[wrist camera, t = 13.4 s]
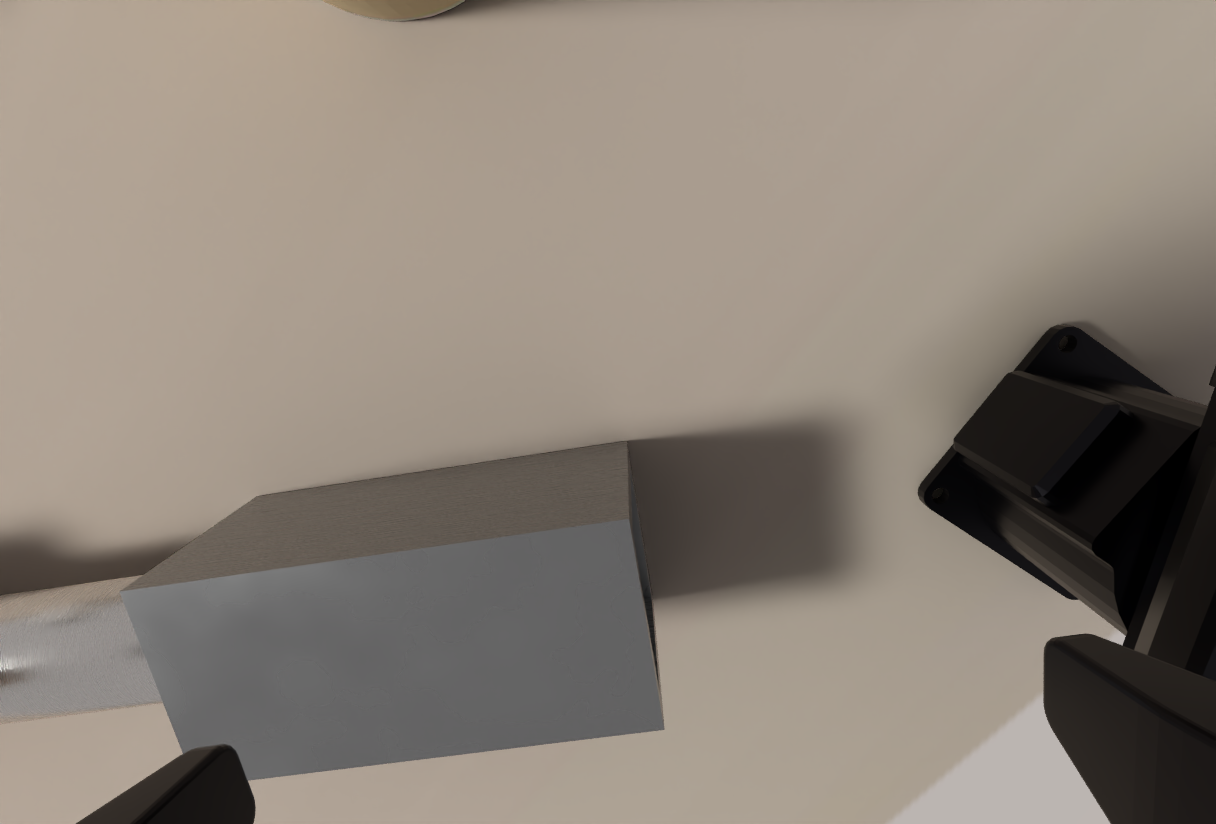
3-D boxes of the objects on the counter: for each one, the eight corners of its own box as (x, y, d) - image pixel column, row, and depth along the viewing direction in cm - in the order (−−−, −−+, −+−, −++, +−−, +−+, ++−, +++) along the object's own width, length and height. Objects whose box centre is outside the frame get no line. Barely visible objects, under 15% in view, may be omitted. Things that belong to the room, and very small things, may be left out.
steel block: (627, 440, 20) (629, 518, 14) (653, 600, 21) (664, 729, 16) (256, 496, 21) (118, 591, 15) (304, 647, 22) (196, 786, 16)
